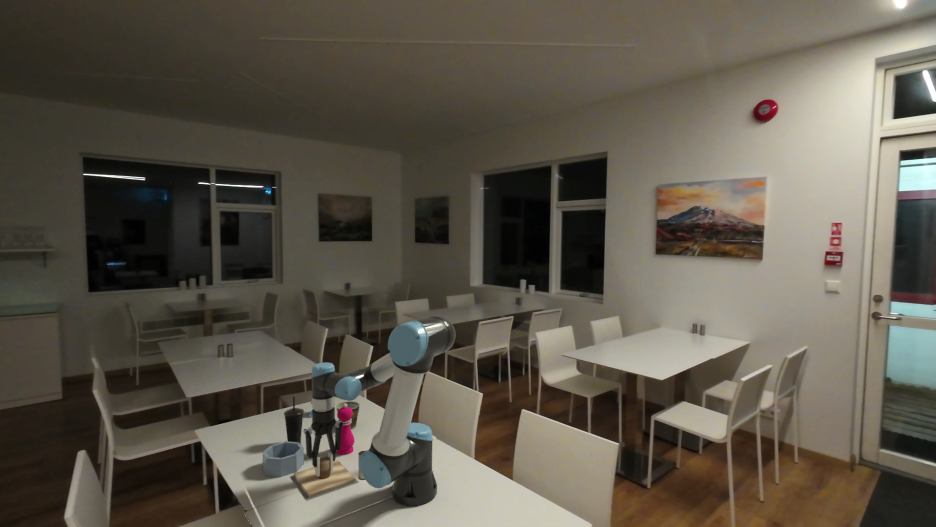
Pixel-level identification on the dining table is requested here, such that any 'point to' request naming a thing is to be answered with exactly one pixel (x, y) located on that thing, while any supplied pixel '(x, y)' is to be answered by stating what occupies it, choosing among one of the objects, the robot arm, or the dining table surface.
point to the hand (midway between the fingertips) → (324, 472)
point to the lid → (323, 478)
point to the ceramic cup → (355, 409)
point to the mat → (319, 494)
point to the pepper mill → (345, 430)
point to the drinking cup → (294, 423)
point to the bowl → (283, 459)
